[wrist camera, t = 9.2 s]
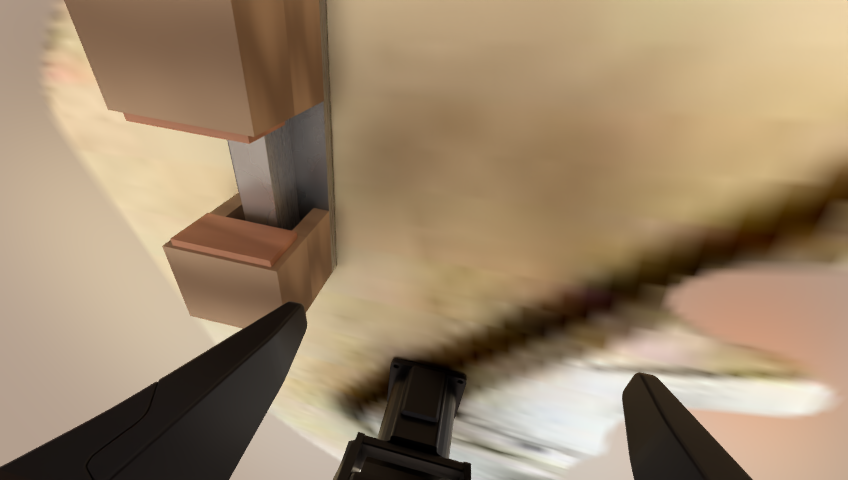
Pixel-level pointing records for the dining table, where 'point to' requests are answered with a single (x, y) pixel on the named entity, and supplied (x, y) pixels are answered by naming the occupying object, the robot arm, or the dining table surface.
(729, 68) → the dining table surface
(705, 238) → the dining table surface
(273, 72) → the block
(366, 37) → the dining table surface
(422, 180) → the dining table surface
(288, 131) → the rail
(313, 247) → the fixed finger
